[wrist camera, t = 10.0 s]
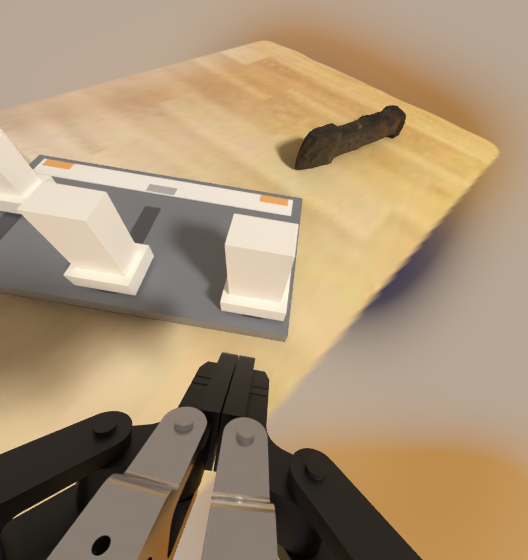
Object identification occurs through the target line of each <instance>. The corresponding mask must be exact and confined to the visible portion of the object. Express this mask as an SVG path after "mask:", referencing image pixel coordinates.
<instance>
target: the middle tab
mask: <svg viewBox="0 0 528 560" xmlns="http://www.w3.org/2000/svg"><path fill="white" fill-rule="evenodd" d="M17 210H18V211H19V212H20V213H21V214H22V215H23V216H24V217H25V218H26V219H27V220H28V221H29V222H30V223H31V224H32V225H33V226H34V227H35V228H36V229H37V230H38V231H39V232H40V233H41V234H42V235H43V236H44V237H45V238H46V239H47V240H48V241H49V242H50V243H51V244H52V245H53V246H54V247H55V248H56V249H57V250H58V251H59V252H60V253H61V254H62V255H63V256H64V257H65V258H66V259H67V260H68V261H69V262H70V263H71V264H70V266H69V267H68V269H67V270H66V272H65V273H64V276H65V277H66V278H67V279H68V280H69V281H70V282H72V283H73V284H74V285H77V286H83V287H89V288H94V289H100V290H106V291H112V292H118V293H123V294H129V295H136V293H137V291H138V289H139V287H140V285H141V283H142V280H143V278H144V276H145V274H146V272H147V270H148V268H149V266H150V264H151V261H152V259H153V257H154V255H153V253H152V251H151V249H150V247H149V245H144V244H139V243H134V241H133V239H132V237H131V235H130V234H129V232H128V230H127V228H126V226H125V225H124V223H123V221H122V219H121V217H120V216H119V214H118V212H117V210H116V208H115V207H114V205H113V203H112V201H111V199H110V198H109V196H108V194H107V192H104V191H98V190H92V189H86V188H80V187H75V186H69V185H63V184H57V183H51V182H45V181H43V182H42V183H41V184H40V185H39V186H38V187H37V188H36V189H35V190H34V191H33V192H32V193H31V195H30V196H29V197H28V198H27V199H26V200H25V201H24V202H23V203H22V204H21V205H20V206H19V207H18V208H17Z"/></svg>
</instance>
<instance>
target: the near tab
mask: <svg viewBox="0 0 528 560" xmlns="http://www.w3.org/2000/svg"><path fill="white" fill-rule="evenodd" d="M298 225H299V224H295V223H289V222H283V221H277V220H271V219H265V218H259V217H253V216H247V215H241V214H235V213H234V215H233V219H232V222H231V225H230V229H229V232H228V235H227V239H226V242H225V255H226V266H227V279H226V282H225V286H224V290H223V293H222V297H221V301H220V305H221V311H227V312H233V313H239V314H244V315H250V316H256V317H262V318H268V319H273V320H279V321H284V318H285V316H286V311H287V303H288V294H289V285H290V277H291V268H292V265H293V262H294V258H295V252H296V243H297V234H298Z"/></svg>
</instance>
